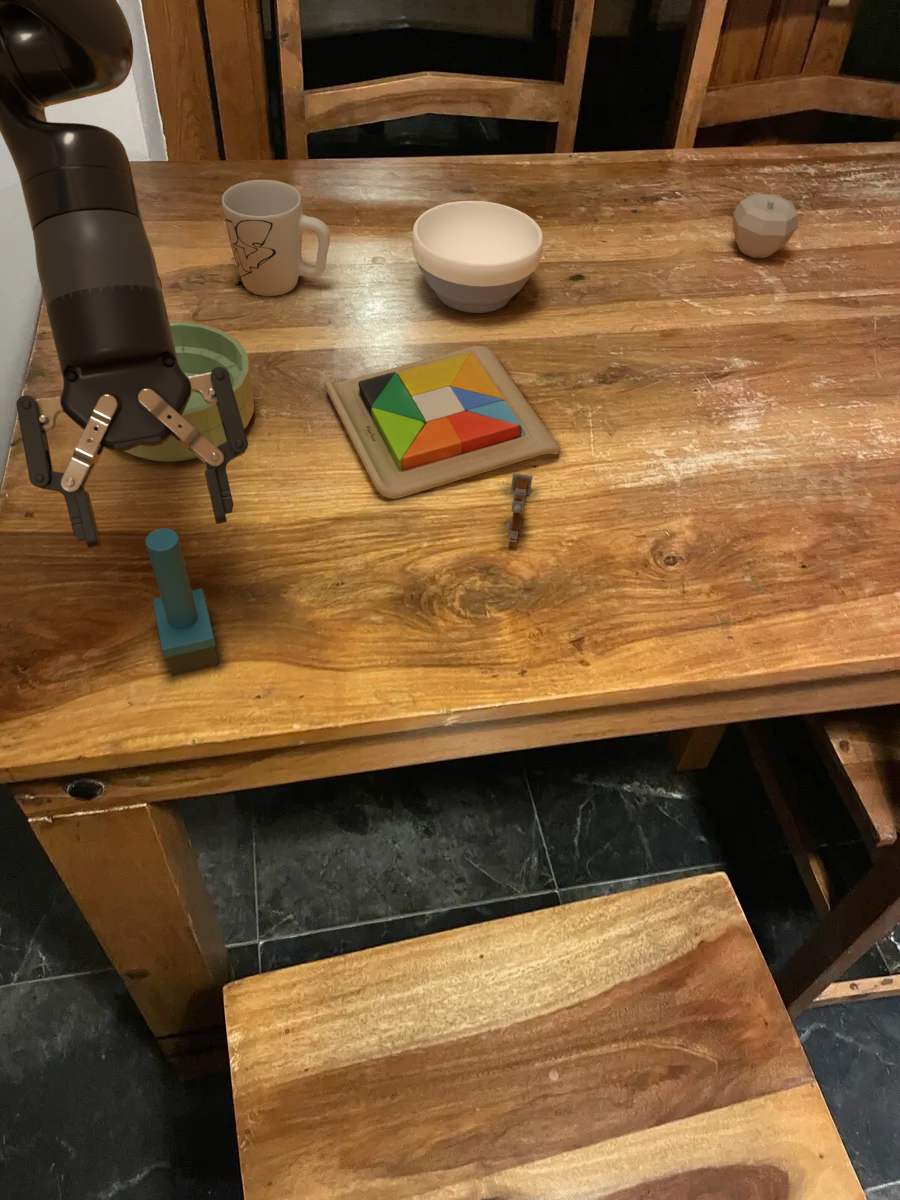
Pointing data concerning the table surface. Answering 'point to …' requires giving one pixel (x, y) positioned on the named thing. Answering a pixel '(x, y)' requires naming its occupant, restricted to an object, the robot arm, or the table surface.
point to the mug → (271, 235)
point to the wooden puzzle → (438, 421)
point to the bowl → (476, 253)
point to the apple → (763, 224)
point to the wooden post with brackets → (518, 503)
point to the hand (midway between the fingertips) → (159, 534)
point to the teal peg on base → (179, 608)
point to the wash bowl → (197, 356)
